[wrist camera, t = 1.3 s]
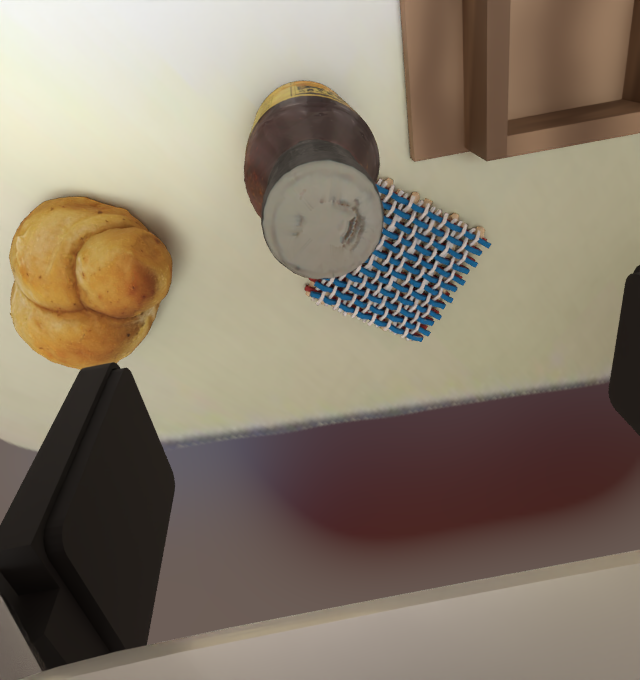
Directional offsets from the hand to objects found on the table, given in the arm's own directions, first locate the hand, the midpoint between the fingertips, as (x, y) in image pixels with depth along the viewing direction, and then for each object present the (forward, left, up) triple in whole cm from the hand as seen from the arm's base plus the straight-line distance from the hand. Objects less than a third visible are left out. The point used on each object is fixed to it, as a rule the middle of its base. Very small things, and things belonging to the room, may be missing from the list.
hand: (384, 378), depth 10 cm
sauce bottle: (0, 0, -28) cm, 28 cm away
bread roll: (+16, +7, -29) cm, 33 cm away
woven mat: (-5, +10, -29) cm, 31 cm away
